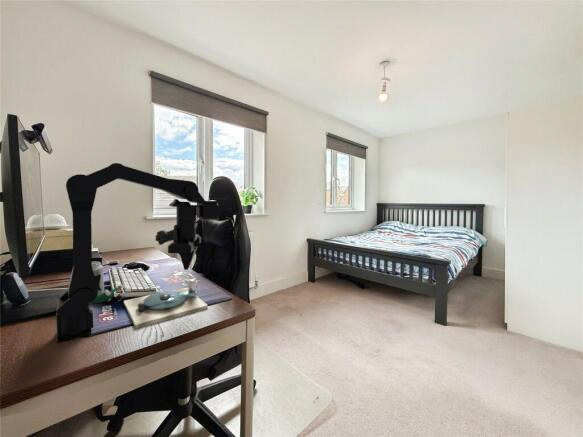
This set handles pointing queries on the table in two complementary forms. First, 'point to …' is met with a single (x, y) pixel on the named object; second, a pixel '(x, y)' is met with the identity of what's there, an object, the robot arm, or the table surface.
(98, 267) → the can
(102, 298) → the green irregular piece
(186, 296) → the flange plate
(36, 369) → the table surface
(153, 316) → the post base
